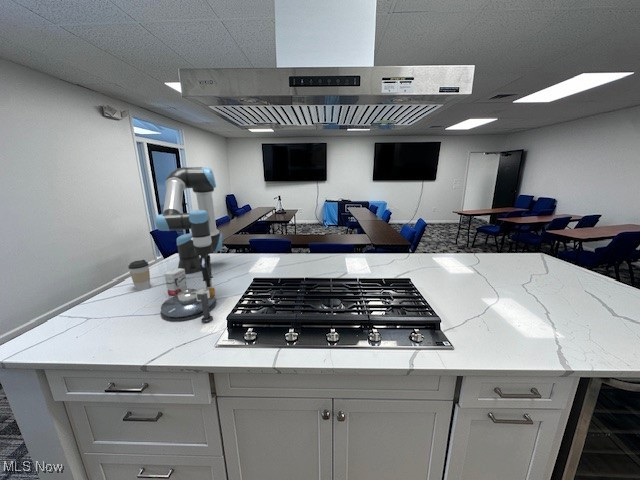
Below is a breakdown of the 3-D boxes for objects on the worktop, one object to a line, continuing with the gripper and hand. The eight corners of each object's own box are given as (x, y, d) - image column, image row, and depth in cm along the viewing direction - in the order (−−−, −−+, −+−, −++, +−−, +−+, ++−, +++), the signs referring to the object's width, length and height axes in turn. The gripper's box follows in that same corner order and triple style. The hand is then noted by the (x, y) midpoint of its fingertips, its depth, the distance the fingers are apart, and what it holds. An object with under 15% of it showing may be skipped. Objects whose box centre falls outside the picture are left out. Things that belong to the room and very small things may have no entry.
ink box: (176, 295, 127) (172, 274, 124) (167, 295, 128) (164, 273, 125) (188, 288, 135) (184, 268, 132) (180, 287, 136) (177, 267, 133)
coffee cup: (138, 292, 131) (132, 265, 128) (129, 288, 136) (123, 262, 132) (156, 285, 139) (151, 260, 135) (147, 282, 143) (142, 258, 139)
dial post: (204, 315, 108) (200, 289, 105) (216, 316, 107) (212, 289, 104) (197, 322, 103) (192, 294, 100) (209, 323, 102) (205, 295, 99)
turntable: (189, 291, 128) (187, 280, 127) (225, 297, 121) (223, 286, 120) (149, 313, 108) (146, 301, 106) (189, 322, 101) (187, 308, 100)
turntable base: (183, 295, 127) (182, 293, 127) (225, 297, 125) (225, 295, 124) (147, 320, 105) (147, 318, 105) (198, 323, 102) (198, 321, 102)
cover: (189, 295, 119) (187, 285, 118) (202, 298, 117) (200, 287, 115) (174, 303, 112) (172, 292, 111) (188, 306, 109) (186, 295, 108)
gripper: (196, 241, 118) (203, 287, 124) (190, 249, 106) (199, 299, 112) (213, 240, 120) (219, 285, 126) (209, 247, 108) (216, 297, 114)
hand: (210, 292), depth 119 cm, fingers closed
